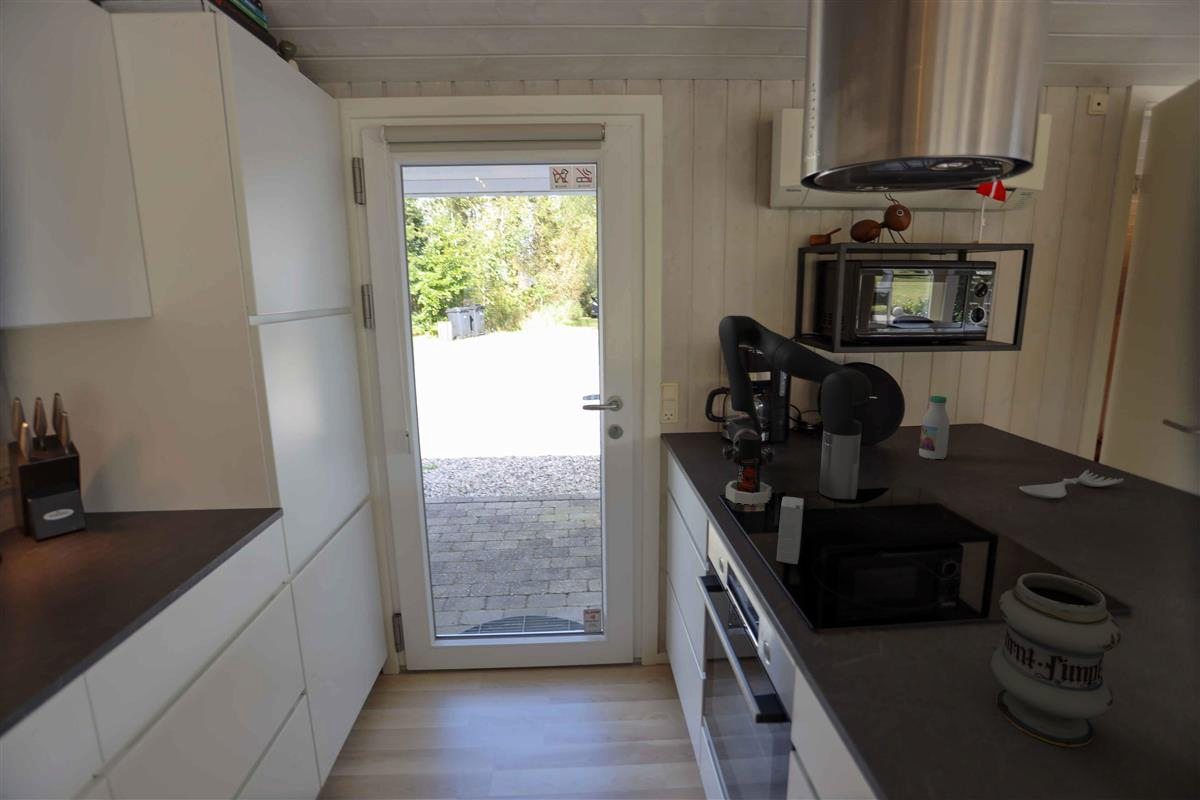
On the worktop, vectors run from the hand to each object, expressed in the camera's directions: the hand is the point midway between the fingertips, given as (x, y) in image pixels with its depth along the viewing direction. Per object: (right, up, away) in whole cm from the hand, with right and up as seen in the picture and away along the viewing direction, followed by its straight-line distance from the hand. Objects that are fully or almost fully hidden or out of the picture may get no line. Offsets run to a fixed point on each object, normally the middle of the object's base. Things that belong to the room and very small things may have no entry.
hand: (750, 461), depth 146 cm
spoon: (+88, -9, +7) cm, 88 cm away
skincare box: (0, -17, -30) cm, 34 cm away
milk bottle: (+70, -3, +39) cm, 80 cm away
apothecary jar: (+18, -25, -74) cm, 80 cm away
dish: (+1, -10, +4) cm, 11 cm away
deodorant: (+1, -9, +4) cm, 10 cm away
